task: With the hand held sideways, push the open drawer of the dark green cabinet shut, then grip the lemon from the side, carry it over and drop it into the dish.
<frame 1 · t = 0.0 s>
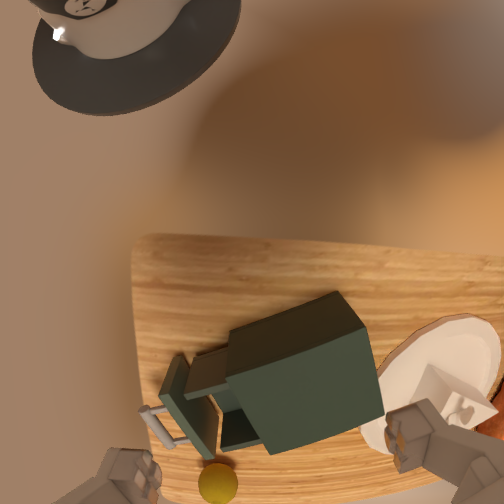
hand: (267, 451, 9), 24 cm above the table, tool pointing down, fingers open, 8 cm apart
drawer: (218, 402, 31), point 4 cm above the table, slide at 6.0 cm
cabinet: (299, 353, 34), on the table
lemon: (219, 462, 39), on the table
dish: (434, 390, 37), on the table
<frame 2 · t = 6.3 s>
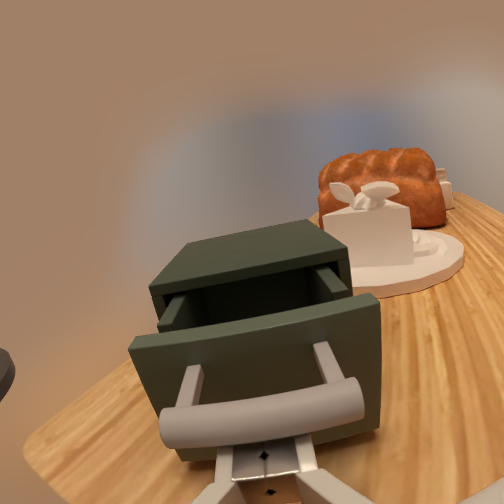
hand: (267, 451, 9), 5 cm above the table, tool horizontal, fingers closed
drawer: (263, 358, 16), point 4 cm above the table, slide at 4.7 cm
cabinet: (268, 349, 25), on the table
pepper shaker: (444, 209, 64), on the table
bread: (385, 225, 60), on the table
dish: (376, 261, 41), on the table
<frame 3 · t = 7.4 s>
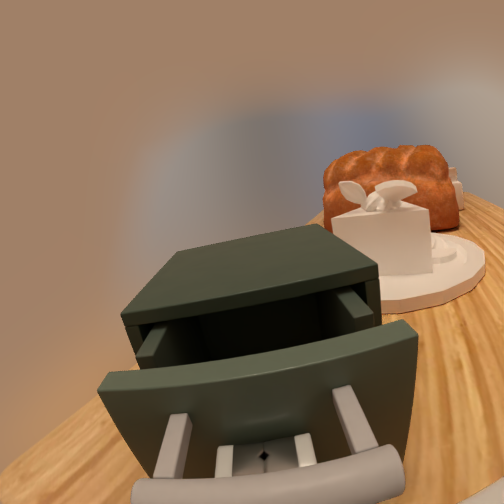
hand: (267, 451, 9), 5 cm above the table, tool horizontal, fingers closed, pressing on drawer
drawer: (266, 392, 13), point 4 cm above the table, slide at 3.5 cm, touching gripper
cabinet: (272, 377, 21), on the table
pepper shaker: (454, 210, 60), on the table
bread: (394, 228, 56), on the table
dish: (389, 268, 36), on the table
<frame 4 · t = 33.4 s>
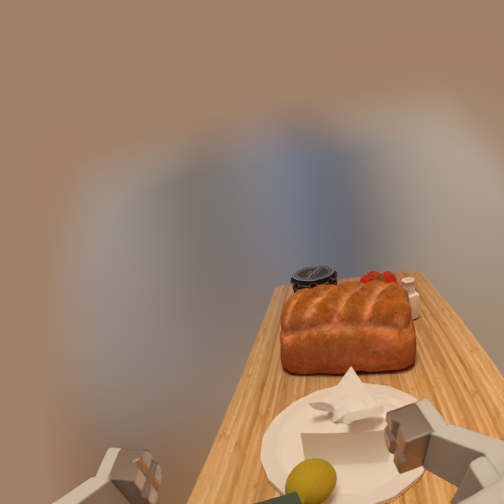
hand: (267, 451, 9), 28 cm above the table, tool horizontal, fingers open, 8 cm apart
tomato: (379, 301, 79), on the table
lemon: (322, 462, 31), point 3 cm above the table, touching cabinet, dish
container: (318, 306, 84), on the table
pepper shaker: (408, 318, 66), on the table
bread: (349, 356, 58), on the table
dish: (349, 443, 37), on the table, touching lemon
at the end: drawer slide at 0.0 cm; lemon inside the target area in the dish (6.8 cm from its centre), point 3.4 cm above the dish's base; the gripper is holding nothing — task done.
